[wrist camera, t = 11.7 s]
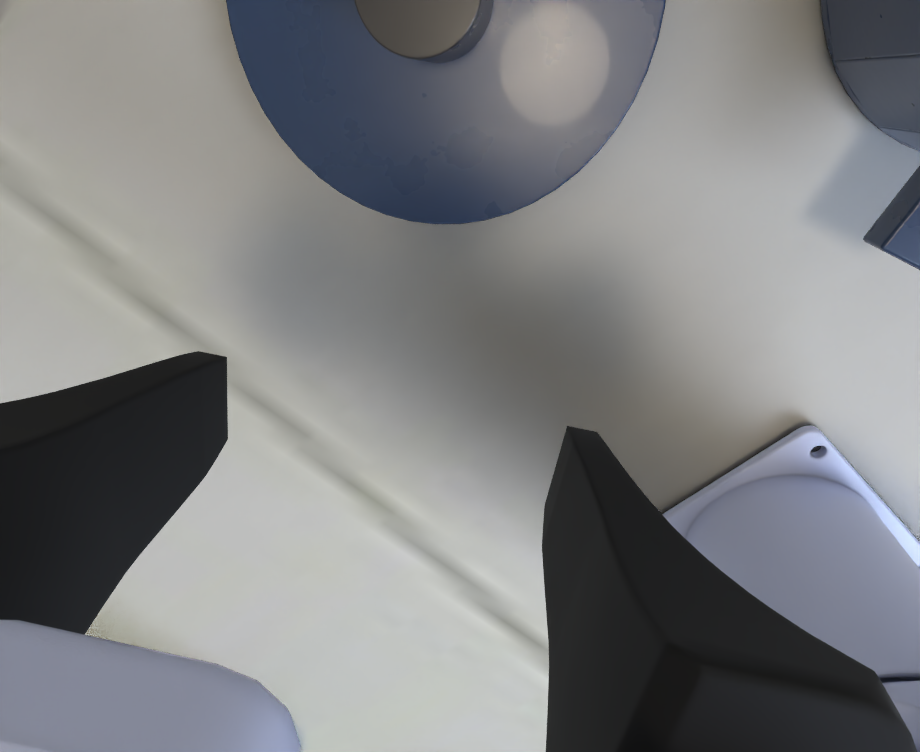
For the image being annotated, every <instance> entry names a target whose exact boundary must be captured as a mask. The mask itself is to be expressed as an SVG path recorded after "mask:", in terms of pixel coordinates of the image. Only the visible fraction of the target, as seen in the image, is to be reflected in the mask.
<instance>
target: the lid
mask: <svg viewBox="0 0 920 752" xmlns="http://www.w3.org/2000/svg"><path fill="white" fill-rule="evenodd" d="M665 2H666V0H226V3H227V8H228V14H229V20H230V26H231V30H232V34H233V37H234V41H235V44H236V48H237V51H238V55H239V58H240V61H241V63H242V66H243V68H244V71H245V73H246V76H247V79H248V81H249V84H250V86H251V88H252V90H253V92H254V94H255V96H256V98H257V100H258V101H259V103H260V105H261V107H262V109H263V111H264V113H265V114H266V116H267V117H268V119H269V120H270V122H271V123H272V125H273V126H274V128H275V129H276V131H277V132H278V134H279V135H280V137H281V138H282V139H283V140H284V141H285V143H286V144H287V145H288V146H289V147H290V149H291V150H292V151H293V152H294V153H295V154H296V156H297V157H298V158H299V159H300V160H301V161H302V162H303V163H304V164H305V165H306V166H308V167H309V168H310V169H311V170H312V171H313V172H314V173H315V174H316V175H317V176H318V177H319V178H321V179H322V180H323V181H325V182H326V183H328V184H329V185H330V186H332V187H333V188H334V189H336V190H337V191H339V192H340V193H342V194H343V195H345V196H347V197H349V198H350V199H352V200H354V201H356V202H358V203H359V204H361V205H363V206H366V207H368V208H370V209H373V210H375V211H378V212H380V213H383V214H385V215H389V216H392V217H396V218H400V219H404V220H408V221H413V222H421V223H429V224H463V223H470V222H477V221H484V220H488V219H491V218H495V217H498V216H502V215H505V214H509V213H511V212H514V211H516V210H518V209H521V208H523V207H525V206H528V205H530V204H532V203H534V202H536V201H537V200H539V199H541V198H543V197H544V196H546V195H548V194H549V193H551V192H553V191H554V190H556V189H557V188H559V187H560V186H561V185H562V184H564V183H565V182H566V181H568V180H569V179H570V178H571V177H573V176H574V175H575V174H577V173H578V172H579V171H580V170H581V169H582V168H583V167H584V166H585V165H586V164H587V163H588V162H589V161H590V160H591V159H592V158H593V157H594V156H595V155H596V154H597V153H598V152H599V151H600V149H601V148H602V147H603V146H604V144H605V143H606V142H607V140H608V139H609V138H610V137H611V135H612V134H613V133H614V132H615V130H616V129H617V128H618V126H619V124H620V123H621V121H622V119H623V118H624V116H625V115H626V113H627V111H628V110H629V108H630V106H631V105H632V103H633V101H634V99H635V97H636V95H637V93H638V91H639V89H640V86H641V84H642V82H643V80H644V78H645V76H646V74H647V71H648V68H649V65H650V62H651V59H652V56H653V53H654V50H655V47H656V44H657V41H658V37H659V32H660V28H661V23H662V18H663V14H664V9H665Z"/></svg>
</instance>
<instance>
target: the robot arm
mask: <svg viewBox="0 0 920 752" xmlns="http://www.w3.org/2000/svg"><path fill="white" fill-rule="evenodd" d="M227 440H228V422H227V357H224V356H219V355H214V354H209V353H204V352H199V351H198V352H193V353H187V354H183V355H179V356H176V357H172V358H169V359H165V360H162V361H159V362H155V363H152V364H149V365H146V366H142V367H139V368H136V369H133V370H129V371H126V372H123V373H120V374H116V375H113V376H110V377H107V378H103V379H100V380H96V381H92V382H89V383H85V384H81V385H78V386H74V387H70V388H67V389H63V390H59V391H56V392H52V393H48V394H44V395H39V396H35V397H30V398H26V399H21V400H16V401H11V402H6V403H1V404H0V752H300V747H301V745H300V742H299V739H298V736H297V733H296V729H295V726H294V723H293V720H292V717H291V714H290V712H289V711H288V709H287V707H286V706H285V705H284V704H283V703H281V702H280V701H279V700H278V699H277V698H276V697H275V696H274V695H273V694H272V693H270V692H269V691H268V690H267V689H266V688H265V687H264V686H263V685H262V684H261V683H259V682H258V681H257V680H255V679H253V678H250V677H248V676H245V675H243V674H240V673H238V672H235V671H233V670H230V669H228V668H225V667H223V666H220V665H218V664H215V663H211V662H206V661H202V660H197V659H192V658H188V657H183V656H179V655H174V654H170V653H165V652H161V651H156V650H152V649H147V648H143V647H138V646H133V645H129V644H124V643H120V642H115V641H111V640H106V639H102V638H97V637H93V636H88V635H85V633H86V632H87V630H88V628H89V627H90V625H91V624H92V622H93V621H94V619H95V617H96V616H97V614H98V613H99V611H100V610H101V608H102V607H103V605H104V604H105V602H106V601H107V599H108V598H109V596H110V595H111V594H112V592H113V591H114V589H115V588H116V586H117V585H118V583H119V582H120V580H121V579H122V577H123V576H124V574H125V573H126V572H127V570H128V569H129V568H130V566H131V565H132V564H133V563H134V561H135V560H136V559H137V557H138V556H139V555H140V554H141V552H142V551H143V550H144V549H145V548H146V547H147V545H148V544H149V543H150V542H151V541H152V539H153V538H154V537H155V536H156V535H157V533H158V532H159V531H160V530H161V529H162V528H163V526H164V525H165V524H166V523H167V522H168V521H169V519H170V518H171V517H172V516H173V515H174V513H175V512H176V511H177V510H178V509H179V508H180V506H181V505H182V504H183V503H184V502H185V500H186V499H187V498H188V497H189V496H190V494H191V493H192V492H193V491H194V489H195V488H196V487H197V486H198V485H199V483H200V482H201V481H202V480H203V478H204V477H205V476H206V474H207V473H208V471H209V470H210V468H211V466H212V465H213V463H214V462H215V460H216V458H217V457H218V455H219V453H220V452H221V450H222V448H223V446H224V445H225V443H226V441H227ZM818 445H819V446H822V447H821V449H820V450H818V451H816V452H811V450H812V449H813V448H814V447H816V446H818ZM542 553H543V569H544V584H545V598H546V611H547V625H548V639H549V690H548V718H547V739H546V752H920V567H919V566H920V542H919V541H918V540H917V539H916V537H915V536H914V535H913V534H912V533H911V532H910V531H909V530H908V528H907V527H906V526H905V525H904V524H903V523H902V522H901V521H900V519H899V518H898V517H897V516H896V515H895V514H894V513H893V512H892V510H891V509H890V508H889V507H888V506H887V505H886V504H885V503H884V501H883V500H882V499H881V498H880V497H879V496H878V495H877V494H876V492H875V491H874V490H873V489H872V488H871V487H870V486H869V485H868V483H867V482H866V481H865V480H864V479H863V478H862V477H861V476H860V474H859V473H858V472H857V471H856V470H855V469H854V468H853V467H852V465H851V464H850V463H849V462H848V461H847V460H846V459H845V458H844V456H843V455H842V454H841V453H840V452H839V451H838V450H837V449H836V447H835V446H834V445H833V444H832V443H831V442H830V441H829V440H828V438H827V437H826V436H825V435H824V434H823V433H822V432H821V431H820V429H818V428H817V427H815V426H810V425H809V426H803V427H801V428H798V429H797V430H795V431H793V432H792V433H790V434H789V435H787V436H786V437H784V438H782V439H781V440H779V441H778V442H776V443H774V444H773V445H771V446H770V447H768V448H767V449H765V450H763V451H762V452H760V453H759V454H757V455H755V456H754V457H752V458H751V459H749V460H748V461H746V462H744V463H743V464H741V465H740V466H738V467H736V468H735V469H733V470H732V471H730V472H728V473H727V474H725V475H724V476H722V477H721V478H719V479H717V480H716V481H714V482H713V483H711V484H709V485H708V486H706V487H705V488H703V489H702V490H700V491H698V492H697V493H695V494H694V495H692V496H690V497H689V498H687V499H686V500H684V501H683V502H681V503H679V504H678V505H676V506H675V507H673V508H671V509H670V510H668V511H667V512H665V513H664V514H661V513H660V512H659V511H658V510H657V508H656V507H655V506H654V505H653V504H652V503H651V502H650V500H649V499H648V498H647V497H646V496H645V495H644V493H643V492H642V491H641V490H640V488H639V487H638V486H637V485H636V483H635V482H634V481H633V480H632V478H631V477H630V476H629V474H628V473H627V472H626V471H625V469H624V468H623V467H622V465H621V464H620V462H619V461H618V460H617V458H616V457H615V456H614V454H613V453H612V452H611V450H610V449H609V447H608V446H607V445H606V443H605V442H604V441H603V439H602V438H601V437H600V435H599V434H598V433H597V432H594V431H589V430H584V429H579V428H575V427H570V426H567V429H566V432H565V436H564V439H563V443H562V446H561V450H560V453H559V457H558V460H557V464H556V467H555V471H554V474H553V478H552V481H551V485H550V488H549V492H548V495H547V499H546V502H545V509H544V523H543V540H542Z"/></svg>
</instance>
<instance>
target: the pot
mask: <svg viewBox="0 0 920 752" xmlns="http://www.w3.org/2000/svg"><path fill="white" fill-rule="evenodd" d="M821 5H822V20H823V26H824V31H825V36H826V41H827V47H828V50H829V53H830V55H831V58H832V61H833V64H834V67H835V70H836V73H837V74H838V76H839V78H840V80H841V82H842V84H843V86H844V87H845V89H846V91H847V93H848V95H849V96H850V97H851V99H852V100H853V101H854V103H855V104H856V105H857V106H858V108H859V109H860V110H861V112H862V113H863V114H864V115H865V116H866V117H867V118H868V119H869V120H870V121H871V122H873V123H874V125H875V126H877V127H878V128H879V129H880V130H881V131H883V132H884V133H886V134H888V135H889V136H891V137H892V138H894V139H895V140H897V141H898V142H900V143H901V144H904V145H906V146H908V147H911V148H913V149H915V150H918V151H920V0H821ZM863 240H864V241H865V242H867V243H869V244H870V245H872V246H874V247H876V248H878V249H880V250H882V251H884V252H886V253H888V254H890V255H892V256H894V257H896V258H898V259H900V260H902V261H904V262H906V263H907V264H909V265H911V266H913V267H915V268H917V269H919V270H920V166H919V167H918V168H917V170H916V171H915V172H914V174H913V175H912V176H911V177H910V179H909V180H908V181H907V182H906V184H905V185H904V186H903V188H902V189H901V190H900V191H899V193H898V194H897V195H896V197H895V198H894V199H893V200H892V202H891V203H890V204H889V205H888V207H887V208H886V209H885V211H884V212H883V213H882V214H881V216H880V217H879V218H878V220H877V221H876V222H875V223H874V225H873V226H872V227H871V229H870V230H869V231H868V232H867V234H866V235H865V236H864V238H863Z"/></svg>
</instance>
